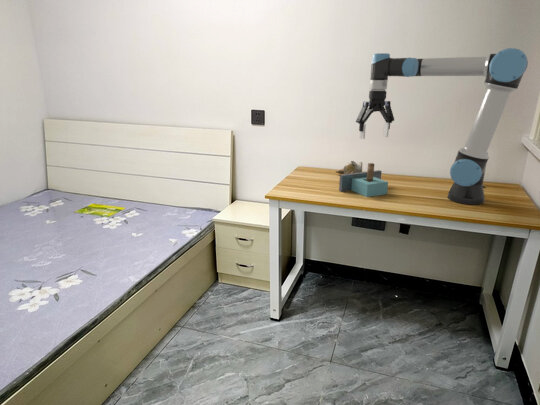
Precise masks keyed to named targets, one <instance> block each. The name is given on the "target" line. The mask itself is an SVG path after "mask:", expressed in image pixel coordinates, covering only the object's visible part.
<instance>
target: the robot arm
mask: <svg viewBox="0 0 540 405" xmlns="http://www.w3.org/2000/svg"><path fill="white" fill-rule="evenodd" d="M528 63H529V62H528V58H527V54H525V52H524V51H522V50H521V49H519V48H515V47H514V48H513V47H509V48H504V49H502V50H500V51H499V52H497V53H489V54H487V55H486V56H465V57H464V56H463V57H462V56H461V57H459V56H458V57H457V56H456V57H436V58H435V57H434V58H433V57H432V58H431V57H430V58H426V57H425V58H416V57H398V58H397V57H394V58H393V57H391V54H390V53H386V52H385V53H380V52H379V53H374V54H373V55H372V58H371V66H370V68H371V69H370V79H369V80H370V81H369V93H368V99H369V100H368V101H363V102H362V106H361V109H360V111H359V113H358V116H357V118H356V119H355V122H356V123H357V124H359V125H358V126H359V127H358V130H359V139H362V140H365V138H366V126H367V124H366V122H367V121H368V119H369V118H370V117H371V115H372V114H373V113H374V112H375V113H376V112H379V113H380V114H381V116H382V118H383V120H384V121H385V122H383V132H382V137H385V138H389V132H390V129H391V124H392V123H393V122H395V117H394V112H393V110H392V106H391V101H390V100H386V99H387V89H388V79H389V77H402V78H403V77H404V78H406V77H407V78H409V77H412V78H413V77H470V76H471V77H485V80H484V83H483V84H484V85H485V87H486V88H485V91H484V94H483V97H482V100H481V102H480V104H479V108H478V110H477V112H476V116H475V118H474V121H473V123H472V126H471V128H470V131H469V133H468V137H467V139H466V141H465V144H464V146H463V147H461V148H459V149H458V151H457V154H456V156H455V159H454V162H453V163H452V165H451V167H450V168H449V175H450V178H451V180H452V181H453V184H452V185H451V187H450V189H449V191H448V193H447V199H448V200H450V201H452V202H456V203H458V204H464V205H482V204H484V203H485V199H486V198H485V192H484V191H485V190H484V187H483V186H484V179H485V174H486V168H487V164H488V160H489V158H490V157H489V153H488V150H489V147H490V145H491V143H492V140H493V138H494V135H495V132H496V130H497V128H498V126H499V123H500V121H501V119H502V116H503V113H504V111H505V109H506V106H507V103H508V101H509V99H510V95H511V94H512V93H513V92H515V91H517V90H518V88H519V86H520V83H521V81H522V78H523V76H524V74H525V72H526V70H527V68H528Z"/></svg>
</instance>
